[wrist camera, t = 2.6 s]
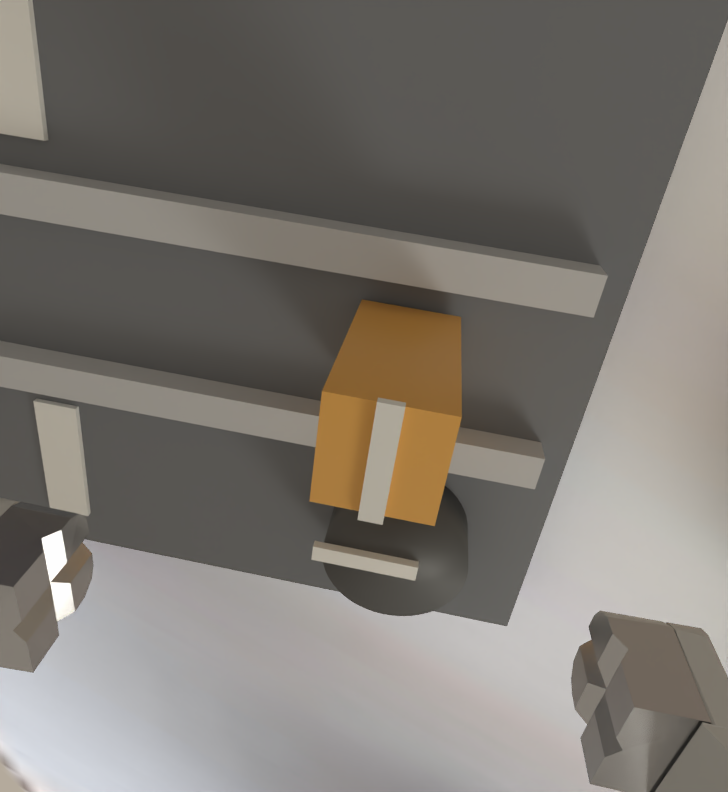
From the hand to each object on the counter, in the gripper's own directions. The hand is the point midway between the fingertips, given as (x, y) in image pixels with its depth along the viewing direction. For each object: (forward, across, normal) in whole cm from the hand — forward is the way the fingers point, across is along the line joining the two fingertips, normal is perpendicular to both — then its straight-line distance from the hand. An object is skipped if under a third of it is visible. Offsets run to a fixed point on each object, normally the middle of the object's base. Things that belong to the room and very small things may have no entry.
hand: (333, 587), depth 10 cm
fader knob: (+10, -1, 0) cm, 10 cm away
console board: (+13, +7, 0) cm, 15 cm away
